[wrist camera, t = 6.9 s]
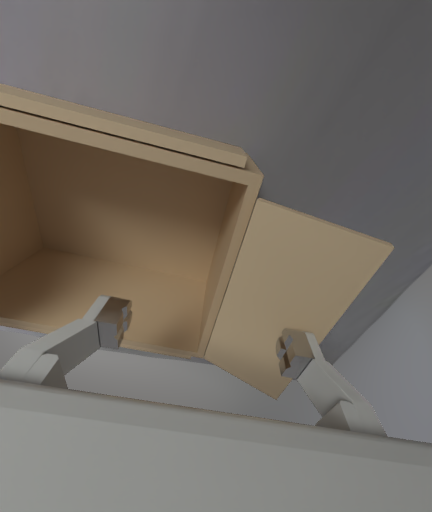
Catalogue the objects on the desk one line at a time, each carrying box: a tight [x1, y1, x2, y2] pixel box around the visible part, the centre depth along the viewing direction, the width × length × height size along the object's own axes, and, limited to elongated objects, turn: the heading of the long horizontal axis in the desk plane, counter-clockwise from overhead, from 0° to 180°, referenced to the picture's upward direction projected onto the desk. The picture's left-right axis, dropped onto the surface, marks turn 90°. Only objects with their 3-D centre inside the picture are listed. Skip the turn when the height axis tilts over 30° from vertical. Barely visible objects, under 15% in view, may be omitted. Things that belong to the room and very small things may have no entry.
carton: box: [0, 84, 264, 359], centre depth 17 cm, size 16×20×10 cm
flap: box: [204, 198, 394, 400], centre depth 13 cm, size 13×1×6 cm
